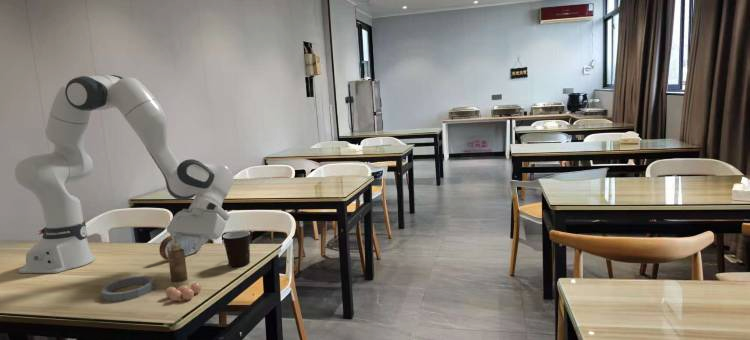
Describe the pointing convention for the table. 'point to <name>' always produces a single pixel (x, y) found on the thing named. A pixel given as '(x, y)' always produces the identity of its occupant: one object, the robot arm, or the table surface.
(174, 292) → the bead pile
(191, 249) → the tin
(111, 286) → the ring
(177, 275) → the pepper mill
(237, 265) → the coffee mug
